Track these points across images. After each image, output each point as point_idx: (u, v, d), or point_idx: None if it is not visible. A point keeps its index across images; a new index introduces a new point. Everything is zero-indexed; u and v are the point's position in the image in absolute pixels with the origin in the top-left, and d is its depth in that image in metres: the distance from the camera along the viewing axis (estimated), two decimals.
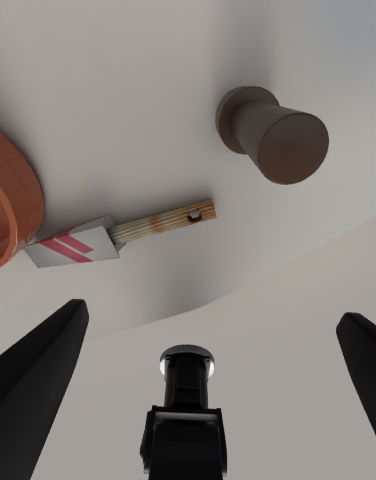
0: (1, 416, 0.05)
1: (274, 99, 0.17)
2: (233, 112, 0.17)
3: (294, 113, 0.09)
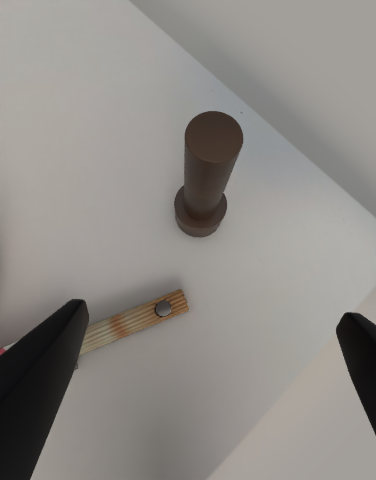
0: (1, 416, 0.05)
1: None
2: None
3: (206, 112, 0.12)
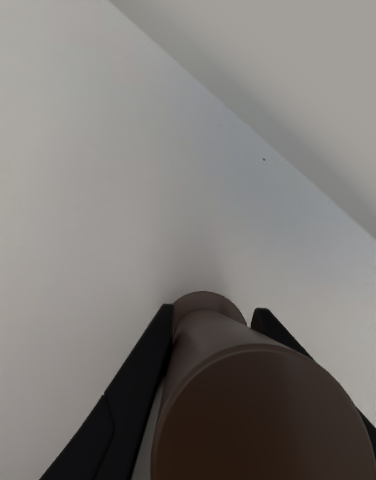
0: (150, 423, 0.05)
1: (230, 304, 0.12)
2: (177, 326, 0.12)
3: (231, 348, 0.03)
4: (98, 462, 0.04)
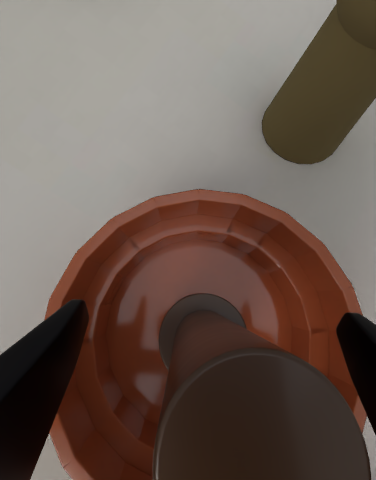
0: (1, 416, 0.05)
1: (230, 306, 0.12)
2: (177, 327, 0.12)
3: (231, 352, 0.03)
4: None
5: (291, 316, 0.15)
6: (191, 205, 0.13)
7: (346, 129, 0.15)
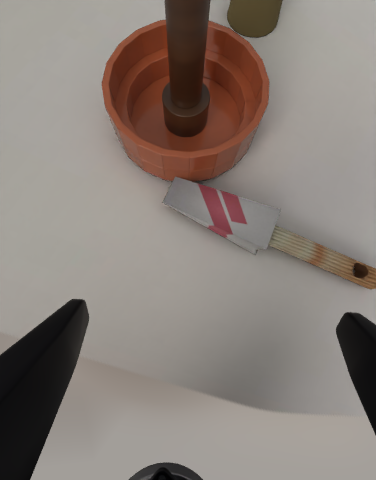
0: (1, 416, 0.05)
1: None
2: None
3: None
4: None
5: (239, 109, 0.25)
6: None
7: (272, 3, 0.26)
